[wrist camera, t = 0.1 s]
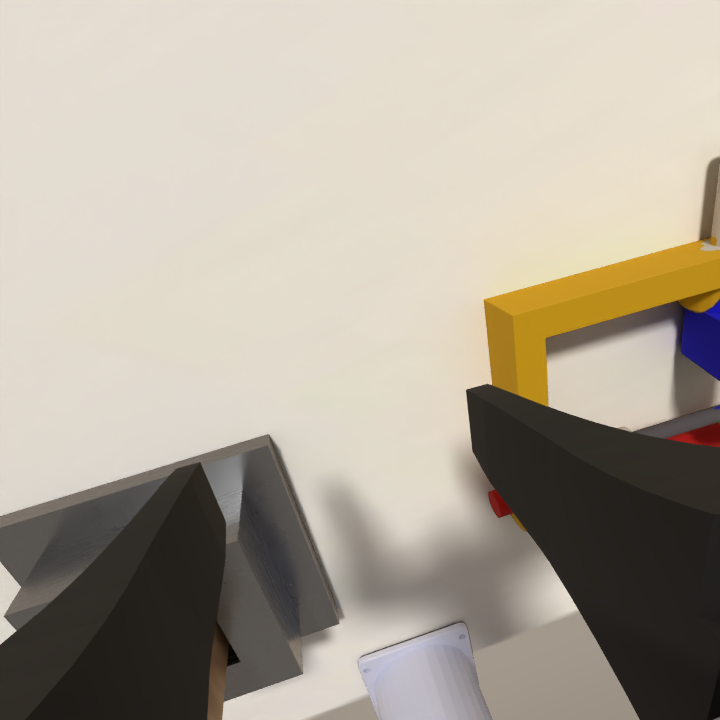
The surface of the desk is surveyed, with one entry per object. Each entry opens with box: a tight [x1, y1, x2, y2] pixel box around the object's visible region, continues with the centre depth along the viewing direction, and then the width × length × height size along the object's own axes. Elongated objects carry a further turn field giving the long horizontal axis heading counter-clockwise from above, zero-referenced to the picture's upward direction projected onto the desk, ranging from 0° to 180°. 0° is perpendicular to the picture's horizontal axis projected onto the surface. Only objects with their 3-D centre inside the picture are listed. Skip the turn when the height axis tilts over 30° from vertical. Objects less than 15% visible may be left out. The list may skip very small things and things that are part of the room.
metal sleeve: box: [0, 435, 339, 701], centre depth 22 cm, size 14×14×5 cm
